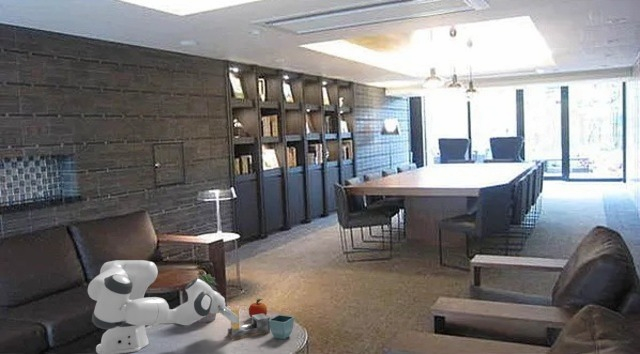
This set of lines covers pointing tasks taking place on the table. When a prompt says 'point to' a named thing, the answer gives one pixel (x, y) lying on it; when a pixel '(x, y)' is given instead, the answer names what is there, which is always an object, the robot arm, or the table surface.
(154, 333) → the table surface
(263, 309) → the fruit
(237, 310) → the tall wooden block
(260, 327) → the rail base
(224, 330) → the table surface
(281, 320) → the flower pot
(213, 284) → the potted plant
